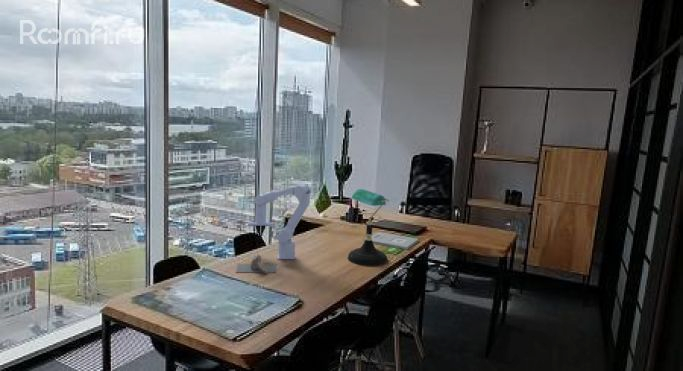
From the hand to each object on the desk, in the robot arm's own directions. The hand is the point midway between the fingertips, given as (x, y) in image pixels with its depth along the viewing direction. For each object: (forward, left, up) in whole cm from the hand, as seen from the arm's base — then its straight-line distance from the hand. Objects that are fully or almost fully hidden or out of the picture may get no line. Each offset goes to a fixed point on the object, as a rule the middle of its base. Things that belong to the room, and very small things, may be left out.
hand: (260, 238), depth 250 cm
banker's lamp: (-62, +10, -10) cm, 63 cm away
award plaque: (-87, -28, -10) cm, 92 cm away
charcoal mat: (+1, +25, -9) cm, 27 cm away
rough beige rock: (0, +27, -9) cm, 29 cm away
